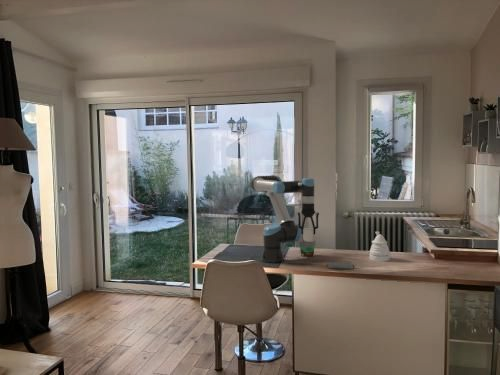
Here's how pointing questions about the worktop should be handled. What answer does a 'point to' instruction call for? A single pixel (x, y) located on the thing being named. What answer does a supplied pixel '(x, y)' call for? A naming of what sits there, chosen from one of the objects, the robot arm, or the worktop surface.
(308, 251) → the food container
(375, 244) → the honey pot
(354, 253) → the worktop surface
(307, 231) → the card box
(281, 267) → the worktop surface
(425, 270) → the worktop surface
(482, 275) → the worktop surface
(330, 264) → the rubber mat
